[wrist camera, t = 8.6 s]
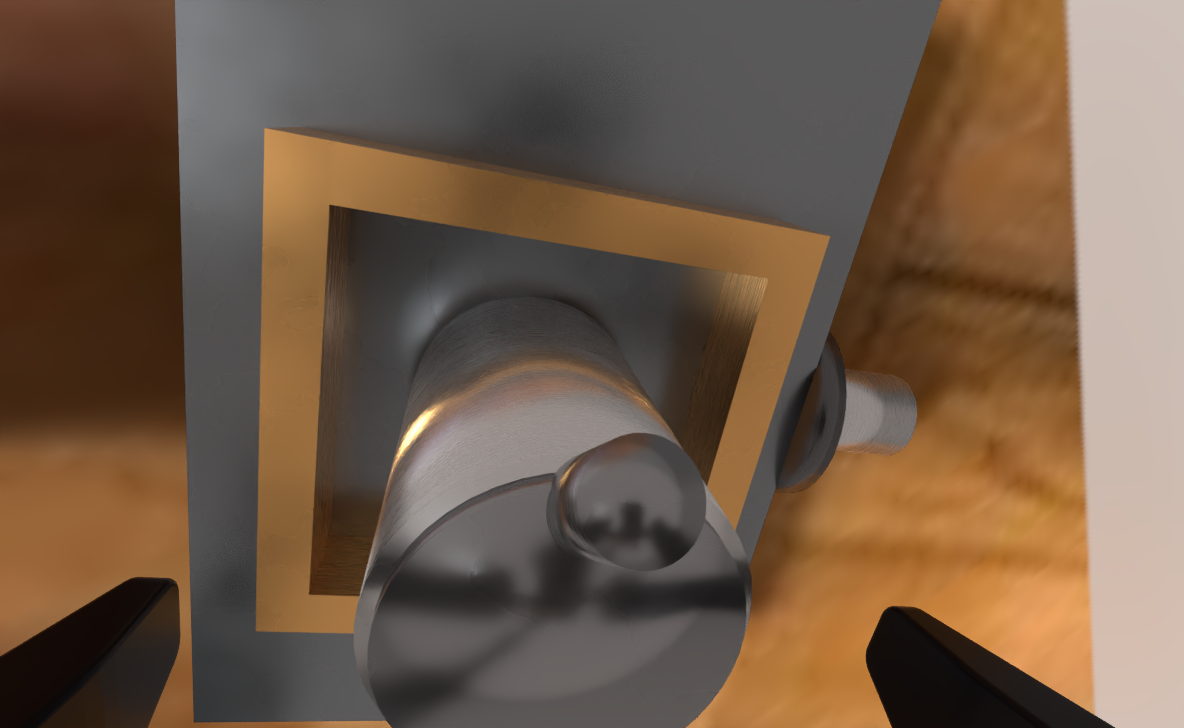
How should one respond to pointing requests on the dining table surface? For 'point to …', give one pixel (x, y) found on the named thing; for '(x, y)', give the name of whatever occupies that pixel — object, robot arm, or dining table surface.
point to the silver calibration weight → (544, 541)
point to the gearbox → (503, 263)
